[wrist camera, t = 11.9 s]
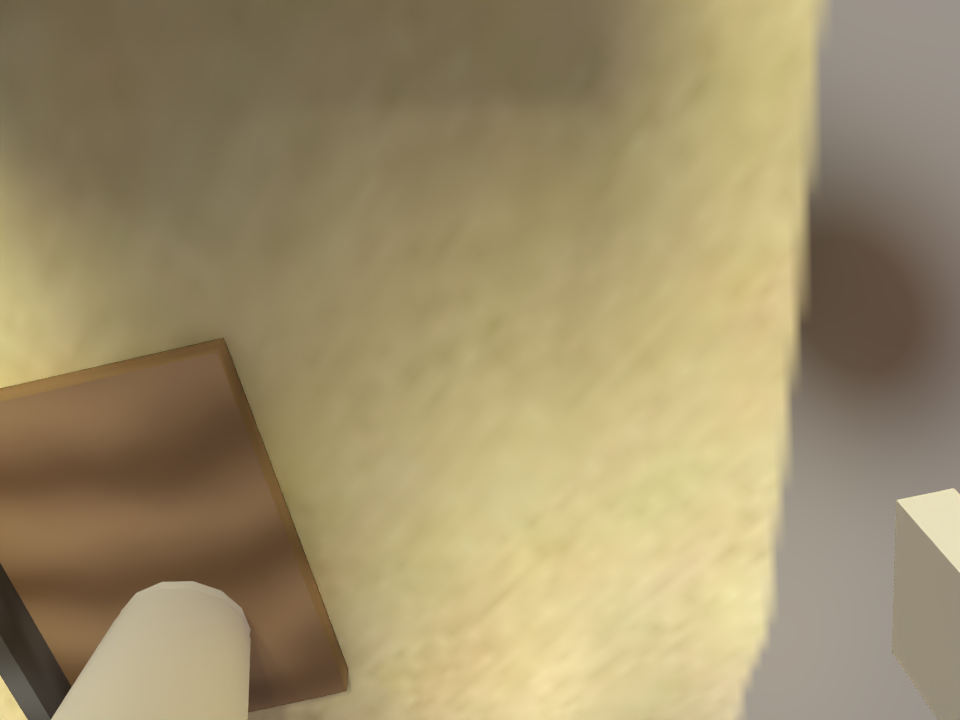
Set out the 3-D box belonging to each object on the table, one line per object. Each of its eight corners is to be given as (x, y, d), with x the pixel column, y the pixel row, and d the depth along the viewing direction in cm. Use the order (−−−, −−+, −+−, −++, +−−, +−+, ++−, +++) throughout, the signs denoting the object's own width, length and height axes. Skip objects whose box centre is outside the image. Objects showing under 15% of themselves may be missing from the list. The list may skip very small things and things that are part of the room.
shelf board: (-91, 409, 38) (-140, 456, 35) (223, 338, 38) (205, 378, 34) (92, 725, 47) (67, 788, 43) (348, 669, 47) (343, 728, 43)
